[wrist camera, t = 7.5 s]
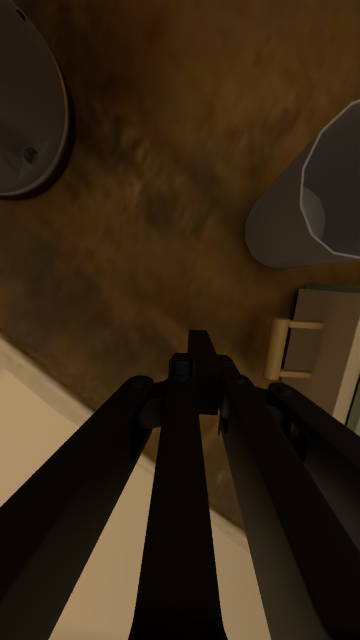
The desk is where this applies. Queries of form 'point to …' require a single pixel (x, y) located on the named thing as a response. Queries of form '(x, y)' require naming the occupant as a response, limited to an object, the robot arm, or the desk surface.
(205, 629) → the robot arm
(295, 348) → the drawer
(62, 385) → the desk surface
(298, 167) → the cup
